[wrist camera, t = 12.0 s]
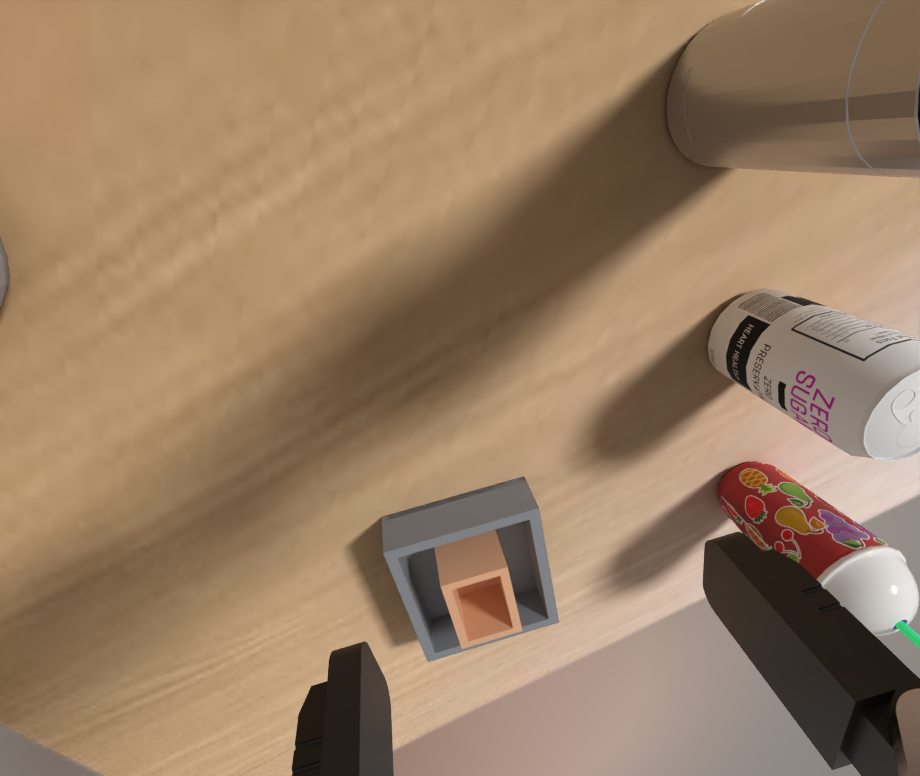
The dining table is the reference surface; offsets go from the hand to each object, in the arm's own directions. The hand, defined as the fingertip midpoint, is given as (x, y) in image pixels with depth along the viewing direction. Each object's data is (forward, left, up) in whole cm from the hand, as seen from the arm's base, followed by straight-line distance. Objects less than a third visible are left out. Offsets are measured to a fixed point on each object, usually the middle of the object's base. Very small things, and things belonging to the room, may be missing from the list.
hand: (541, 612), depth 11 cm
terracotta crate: (+2, +28, -28) cm, 39 cm away
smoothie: (-28, +29, -28) cm, 49 cm away
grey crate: (+2, +28, -28) cm, 40 cm away
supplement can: (-27, +11, -28) cm, 41 cm away
